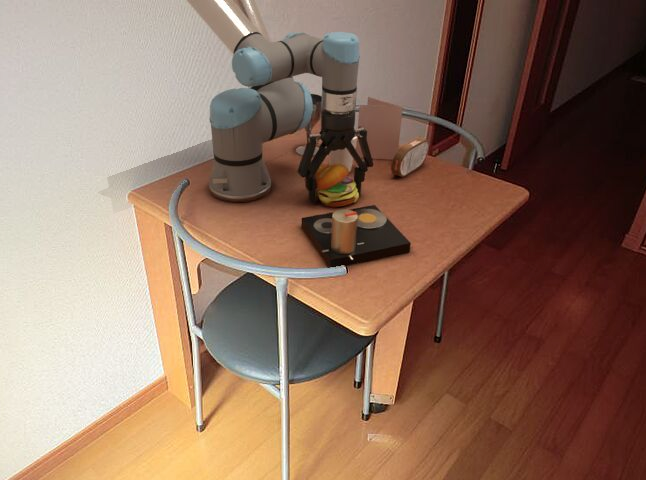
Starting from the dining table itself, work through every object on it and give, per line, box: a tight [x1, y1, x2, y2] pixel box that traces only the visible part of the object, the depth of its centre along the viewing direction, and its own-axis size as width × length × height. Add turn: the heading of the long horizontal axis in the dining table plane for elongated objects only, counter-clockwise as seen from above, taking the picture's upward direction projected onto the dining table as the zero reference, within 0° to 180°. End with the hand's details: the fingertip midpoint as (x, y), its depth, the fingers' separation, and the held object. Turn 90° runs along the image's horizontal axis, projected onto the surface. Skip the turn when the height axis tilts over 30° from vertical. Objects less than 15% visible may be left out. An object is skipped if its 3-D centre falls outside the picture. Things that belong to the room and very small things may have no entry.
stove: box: [300, 204, 411, 268], centre depth 118 cm, size 19×19×3 cm
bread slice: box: [390, 135, 430, 178], centre depth 146 cm, size 15×3×8 cm, turn 141°
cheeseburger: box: [314, 163, 360, 208], centre depth 132 cm, size 10×11×10 cm
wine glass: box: [295, 93, 323, 156], centre depth 153 cm, size 8×8×15 cm
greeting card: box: [355, 96, 404, 161], centre depth 150 cm, size 11×7×15 cm, turn 49°
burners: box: [314, 209, 388, 234], centre depth 120 cm, size 8×17×1 cm, turn 111°
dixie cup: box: [328, 135, 358, 173], centre depth 145 cm, size 8×8×10 cm
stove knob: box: [331, 208, 358, 254], centre depth 110 cm, size 5×5×8 cm
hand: (334, 197), depth 134 cm, fingers closed on cheeseburger, 11 cm apart
